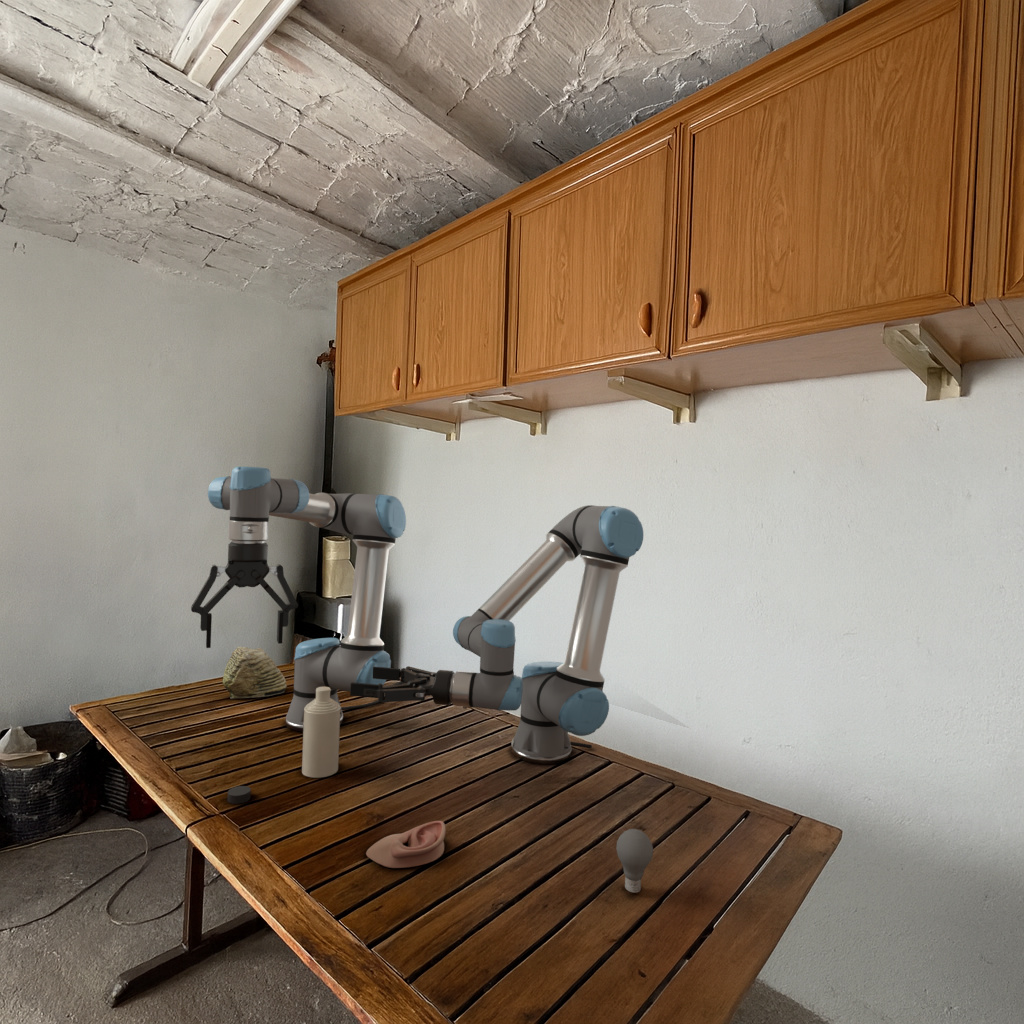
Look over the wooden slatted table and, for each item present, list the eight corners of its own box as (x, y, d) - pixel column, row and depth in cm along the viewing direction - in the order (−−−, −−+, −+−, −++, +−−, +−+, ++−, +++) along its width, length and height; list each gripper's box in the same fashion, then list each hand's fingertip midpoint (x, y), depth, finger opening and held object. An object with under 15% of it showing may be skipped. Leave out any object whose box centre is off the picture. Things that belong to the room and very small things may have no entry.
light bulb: (610, 879, 108) (613, 822, 108) (644, 879, 109) (647, 822, 109) (619, 902, 102) (622, 840, 102) (655, 901, 103) (658, 840, 103)
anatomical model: (359, 840, 110) (385, 809, 121) (358, 862, 110) (384, 829, 121) (431, 852, 107) (451, 819, 119) (431, 875, 107) (451, 840, 119)
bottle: (345, 768, 148) (348, 687, 148) (320, 780, 141) (323, 696, 141) (319, 760, 152) (322, 681, 152) (293, 772, 145) (297, 689, 145)
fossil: (218, 695, 195) (220, 647, 195) (278, 685, 208) (279, 640, 207) (228, 703, 189) (230, 653, 188) (289, 692, 201) (290, 645, 201)
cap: (236, 792, 134) (236, 784, 134) (254, 795, 133) (255, 787, 133) (222, 802, 130) (223, 794, 130) (242, 805, 129) (242, 796, 129)
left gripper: (180, 542, 121) (176, 652, 122) (314, 543, 133) (310, 644, 133) (180, 539, 128) (176, 644, 128) (307, 540, 139) (304, 636, 140)
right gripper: (438, 723, 130) (339, 714, 133) (464, 688, 154) (380, 681, 157) (440, 687, 130) (341, 678, 132) (465, 658, 154) (382, 651, 157)
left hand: (244, 644), depth 131 cm, fingers open, 13 cm apart
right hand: (362, 680), depth 145 cm, fingers open, 13 cm apart
